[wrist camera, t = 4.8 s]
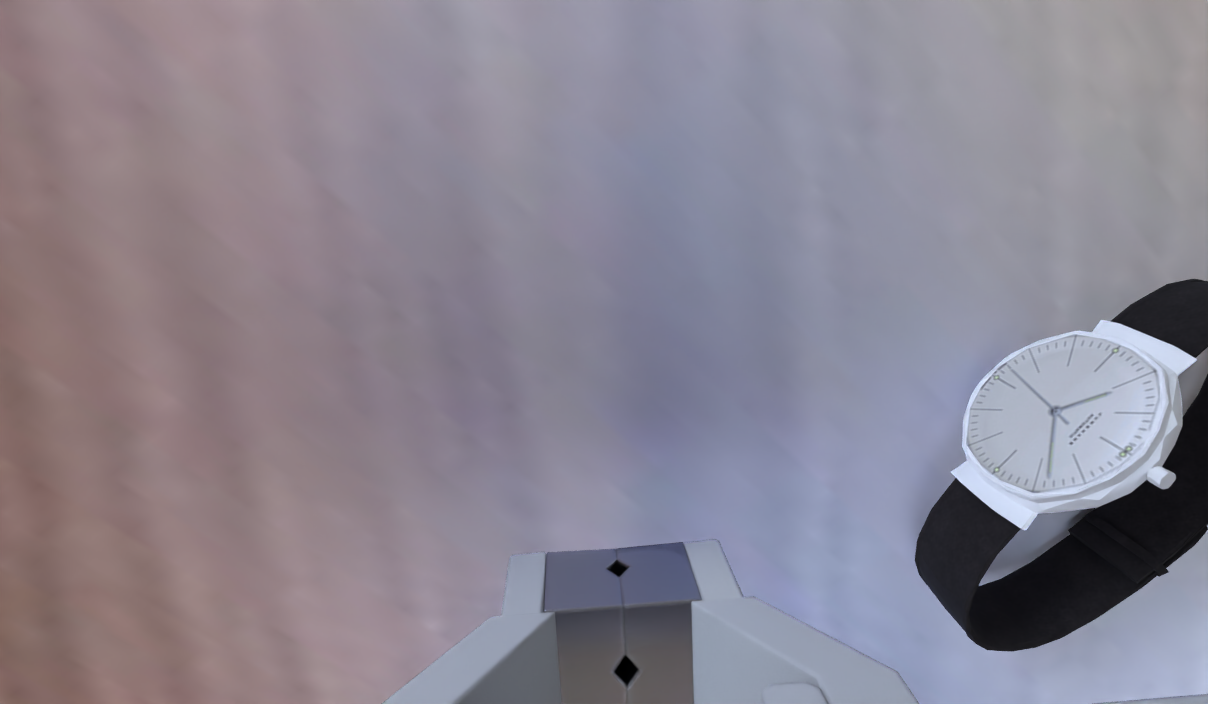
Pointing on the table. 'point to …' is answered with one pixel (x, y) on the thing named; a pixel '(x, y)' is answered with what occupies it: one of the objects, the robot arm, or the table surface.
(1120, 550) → the watch
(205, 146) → the table surface
